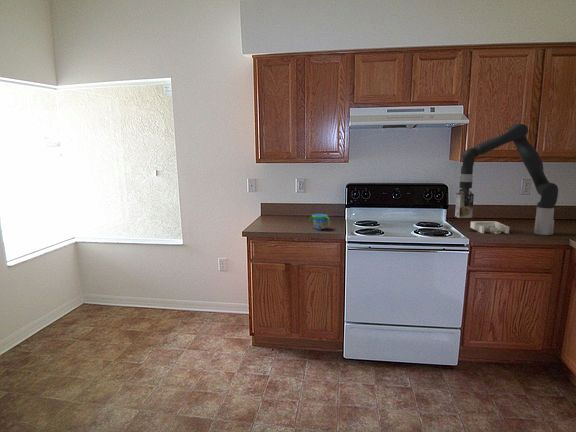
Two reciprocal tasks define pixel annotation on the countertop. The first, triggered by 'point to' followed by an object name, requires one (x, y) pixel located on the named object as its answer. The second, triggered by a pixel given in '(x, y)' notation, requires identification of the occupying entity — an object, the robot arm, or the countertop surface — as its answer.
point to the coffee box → (463, 206)
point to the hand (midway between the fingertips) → (464, 205)
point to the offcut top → (492, 228)
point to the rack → (481, 225)
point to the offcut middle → (492, 231)
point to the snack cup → (319, 221)
